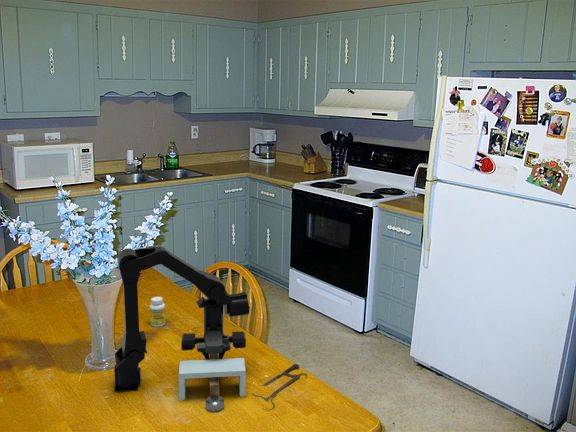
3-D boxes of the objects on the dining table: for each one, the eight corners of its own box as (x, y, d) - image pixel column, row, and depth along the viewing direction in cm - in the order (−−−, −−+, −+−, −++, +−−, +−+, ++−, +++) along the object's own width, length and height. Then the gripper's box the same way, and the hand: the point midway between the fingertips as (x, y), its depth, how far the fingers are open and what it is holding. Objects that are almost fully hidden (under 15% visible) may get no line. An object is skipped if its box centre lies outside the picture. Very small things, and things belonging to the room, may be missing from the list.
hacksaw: (295, 366, 169) (295, 361, 169) (322, 377, 163) (322, 373, 163) (240, 399, 151) (240, 394, 151) (268, 413, 145) (268, 408, 145)
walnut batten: (209, 401, 149) (209, 385, 148) (209, 363, 169) (209, 349, 167) (219, 401, 149) (219, 384, 148) (218, 363, 169) (217, 348, 168)
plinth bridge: (179, 400, 149) (178, 373, 147) (180, 386, 156) (180, 360, 154) (245, 396, 152) (245, 370, 150) (243, 383, 158) (243, 358, 156)
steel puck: (205, 413, 144) (205, 407, 143) (205, 402, 149) (205, 396, 148) (224, 412, 145) (224, 405, 144) (223, 401, 150) (223, 394, 149)
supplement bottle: (163, 319, 198) (162, 294, 196) (167, 325, 194) (166, 300, 191) (148, 322, 196) (147, 297, 194) (152, 328, 191) (151, 302, 189)
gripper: (179, 332, 151) (181, 382, 155) (247, 329, 154) (246, 379, 158) (181, 315, 162) (182, 362, 166) (244, 313, 165) (244, 359, 168)
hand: (214, 366), depth 164 cm, fingers closed on walnut batten, 2 cm apart
